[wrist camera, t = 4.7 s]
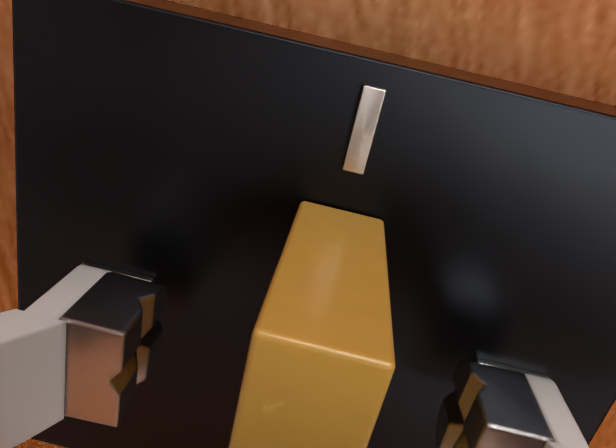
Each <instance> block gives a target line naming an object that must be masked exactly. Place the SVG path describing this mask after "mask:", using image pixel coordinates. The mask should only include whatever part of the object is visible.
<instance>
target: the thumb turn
mask: <svg viewBox="0 0 616 448" xmlns="http://www.w3.org/2000/svg"><path fill="white" fill-rule="evenodd" d="M395 368H396V367H395V354H394V342H393V329H392V317H391V305H390V292H389V280H388V267H387V255H386V242H385V230H384V222H383V221H382V220H381V219H376V218H372V217H368V216H364V215H360V214H356V213H352V212H348V211H344V210H339V209H335V208H331V207H327V206H323V205H319V204H315V203H311V202H307V201H303V202H301V203H300V205H299V207H298V210H297V213H296V215H295V218H294V221H293V224H292V226H291V229H290V232H289V234H288V237H287V240H286V242H285V245H284V248H283V250H282V253H281V256H280V258H279V261H278V264H277V267H276V269H275V272H274V275H273V277H272V280H271V283H270V285H269V288H268V291H267V293H266V296H265V299H264V302H263V304H262V307H261V310H260V312H259V315H258V318H257V320H256V323H255V326H254V328H253V331H252V335H251V340H250V345H249V350H248V355H247V360H246V364H245V369H244V374H243V379H242V384H241V389H240V394H239V398H238V403H237V408H236V413H235V418H234V423H233V428H232V433H231V437H230V442H229V447H228V448H367V446H368V444H369V441H370V438H371V435H372V432H373V430H374V427H375V424H376V421H377V418H378V416H379V413H380V410H381V407H382V404H383V401H384V399H385V396H386V393H387V390H388V387H389V385H390V382H391V379H392V376H393V373H394V371H395Z"/></svg>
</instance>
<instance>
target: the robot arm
mask: <svg viewBox="0 0 616 448" xmlns="http://www.w3.org/2000/svg"><path fill="white" fill-rule="evenodd" d="M166 302H167V289H166V286H165V285H161V284H157V283H153V282H150V281H146V280H142V279H138V278H135V277H131V276H127V275H123V274H120V273H116V272H110V271H109V270H105V269H101V268H96V267H92V266H88V265H79V266H77V267H76V268H75V269H73V270H72V271H71V272H70V273H69V274H67V275H66V276H65V277H64V278H63V279H62V280H60V281H59V282H58V283H57V284H56V285H54V286H53V287H52V288H51V289H50V290H48V291H47V292H46V293H45V294H44V295H42V296H41V297H40V298H39V299H38V300H36V301H35V302H34V303H33V304H32V305H30V306H29V307H28V308H27V309H26V310H24V311H22V310H18V309H12V310H8V311H4V312H1V313H0V448H15V447H16V446H18V445H20V444H22V443H23V442H25V441H27V440H28V439H30V438H32V437H34V436H35V435H37V434H39V433H40V432H42V431H44V430H45V429H47V428H49V427H51V426H52V425H54V424H56V423H57V422H59V421H61V420H63V419H64V416H68V417H73V418H77V419H82V420H86V421H91V422H95V423H100V424H104V425H109V426H113V427H117V426H118V424H119V422H120V421H121V419H122V418H123V416H124V414H125V413H126V411H127V410H128V408H129V406H130V405H131V403H132V402H133V400H134V398H135V392H136V384H138V383H140V382H142V381H144V380H146V379H147V377H148V376H149V374H150V372H151V370H152V369H153V367H154V364H155V362H156V359H157V356H158V354H159V351H160V347H161V342H162V337H163V329H164V328H163V326H162V324H161V323H160V321H159V319H158V318H159V317H160V315H161V314H162V312H163V311H164V310H165V308H166ZM452 378H453V383H454V387H455V391H454V392H452V393H450V394H449V395H447V396H445V397H444V399H443V402H442V404H441V407H440V410H439V413H438V418H437V424H436V444H437V448H589V446H588V444H587V442H586V440H585V439H584V437H583V435H582V433H581V431H580V429H579V427H578V425H577V423H576V422H575V420H574V418H573V416H572V414H571V412H570V410H569V408H568V406H567V404H566V403H565V401H564V399H563V397H562V395H561V393H560V391H559V389H558V387H557V386H556V384H555V382H553V381H552V380H551V379H550V378H547V377H542V376H537V375H533V374H528V373H523V372H517V371H512V370H508V369H503V368H499V367H494V366H490V365H485V364H481V363H476V362H472V361H467V360H463V359H462V361H461V362H460V363H459V365H458V366H457V368H456V370H455V373H454V375H453V377H452Z"/></svg>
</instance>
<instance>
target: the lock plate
mask: <svg viewBox="0 0 616 448" xmlns="http://www.w3.org/2000/svg"><path fill="white" fill-rule="evenodd" d="M12 13H13V63H14V113H15V164H16V214H17V264H18V310H22V311H24V310H26V309H27V308H28V307H29V306H30V305H32V304H33V303H34V302H35V301H36V300H38V299H39V298H40V297H41V296H42V295H44V294H45V293H46V292H47V291H48V290H50V289H51V288H52V287H53V286H54V285H56V284H57V283H58V282H59V281H60V280H62V279H63V278H64V277H65V276H66V275H67V274H69V273H70V272H71V271H72V270H73V269H75V268H76V267H77V266H79V265H88V266H92V267H96V268H101V269H105V270H109V271H110V272H116V273H120V274H123V275H127V276H131V277H135V278H138V279H142V280H146V281H150V282H153V283H157V284H161V285H165V286H166V289H167V302H166V308H165V310H164V311H163V312H162V314H161V315H160V317H159V318H158V319H159V321H160V323H161V324H162V326H163V328H164V329H163V337H162V342H161V347H160V351H159V354H158V356H157V359H156V362H155V364H154V367H153V369H152V370H151V372H150V374H149V376H148V377H147V379H146V380H144V381H142V382H140V383H138V384H136V392H135V398H134V400H133V402H132V403H131V405H130V406H129V408H128V410H127V411H126V413H125V414H124V416H123V418H122V419H121V421H120V422H119V424H118V426H117V427H113V426H109V425H104V424H100V423H95V422H91V421H86V420H82V419H77V418H73V417H68V416H64V419H63V420H61V421H59V422H57V423H56V424H54V425H52V426H51V427H49V428H47V429H45V430H44V431H42V432H40V433H39V434H37V435H35V436H34V437H32V439H35V440H39V441H43V442H47V443H51V444H55V445H59V446H63V447H67V448H228V447H229V442H230V437H231V433H232V428H233V423H234V418H235V413H236V408H237V403H238V398H239V394H240V389H241V384H242V379H243V374H244V369H245V364H246V360H247V355H248V350H249V345H250V340H251V335H252V331H253V328H254V326H255V323H256V320H257V318H258V315H259V312H260V310H261V307H262V304H263V302H264V299H265V296H266V293H267V291H268V288H269V285H270V283H271V280H272V277H273V275H274V272H275V269H276V267H277V264H278V261H279V258H280V256H281V253H282V250H283V248H284V245H285V242H286V240H287V237H288V234H289V232H290V229H291V226H292V224H293V221H294V218H295V215H296V213H297V210H298V207H299V205H300V203H301V202H303V201H307V202H311V203H315V204H319V205H323V206H327V207H331V208H335V209H339V210H344V211H348V212H352V213H356V214H360V215H364V216H368V217H372V218H376V219H381V220H382V221H383V222H384V230H385V242H386V255H387V267H388V280H389V292H390V305H391V317H392V329H393V342H394V354H395V367H396V368H395V371H394V373H393V376H392V379H391V382H390V385H389V387H388V390H387V393H386V396H385V399H384V401H383V404H382V407H381V410H380V413H379V416H378V418H377V421H376V424H375V427H374V430H373V432H372V435H371V438H370V441H369V444H368V446H367V448H437V444H436V424H437V418H438V413H439V410H440V407H441V404H442V402H443V399H444V397H445V396H447V395H449V394H450V393H452V392H454V391H455V387H454V383H453V378H452V377H453V375H454V373H455V370H456V368H457V366H458V365H459V363H460V362H461V361H462V359H463V360H467V361H472V362H476V363H481V364H485V365H490V366H494V367H499V368H503V369H508V370H512V371H517V372H523V373H528V374H533V375H537V376H542V377H547V378H550V379H551V380H552V381H553V382H555V384H556V386H557V387H558V389H559V391H560V393H561V395H562V397H563V399H564V401H565V403H566V404H567V406H568V408H569V410H570V412H571V414H572V416H573V418H574V420H575V422H576V423H577V425H578V427H579V429H580V431H581V433H582V435H583V437H584V439H585V440H586V442H587V444H588V445H589V443H590V441H591V440H592V438H593V436H594V435H595V433H596V431H597V430H598V428H599V426H600V425H601V423H602V421H603V420H604V418H605V416H606V415H607V413H608V411H609V409H610V408H611V406H612V404H613V403H614V401H615V399H616V106H611V105H607V104H603V103H599V102H594V101H590V100H586V99H582V98H577V97H573V96H569V95H565V94H560V93H556V92H552V91H548V90H544V89H539V88H535V87H531V86H527V85H522V84H518V83H514V82H510V81H505V80H501V79H497V78H493V77H489V76H484V75H480V74H476V73H472V72H467V71H463V70H459V69H455V68H450V67H446V66H442V65H438V64H434V63H429V62H425V61H421V60H417V59H412V58H408V57H404V56H400V55H395V54H391V53H387V52H383V51H379V50H374V49H370V48H366V47H362V46H357V45H353V44H349V43H345V42H340V41H336V40H332V39H328V38H323V37H319V36H315V35H311V34H307V33H302V32H298V31H294V30H290V29H285V28H281V27H277V26H273V25H268V24H264V23H260V22H256V21H252V20H247V19H243V18H239V17H235V16H230V15H226V14H222V13H218V12H213V11H209V10H205V9H201V8H197V7H192V6H188V5H184V4H180V3H175V2H171V1H167V0H12Z"/></svg>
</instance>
